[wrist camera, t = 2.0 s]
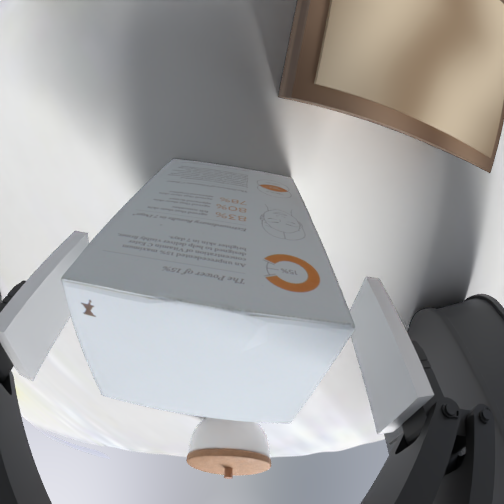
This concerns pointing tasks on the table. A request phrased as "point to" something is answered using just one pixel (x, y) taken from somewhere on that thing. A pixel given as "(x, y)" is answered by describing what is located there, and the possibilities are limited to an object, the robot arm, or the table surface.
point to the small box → (209, 297)
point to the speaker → (467, 362)
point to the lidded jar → (229, 447)
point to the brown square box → (405, 68)
